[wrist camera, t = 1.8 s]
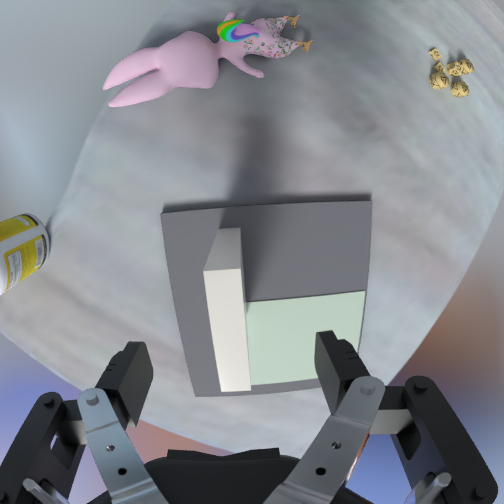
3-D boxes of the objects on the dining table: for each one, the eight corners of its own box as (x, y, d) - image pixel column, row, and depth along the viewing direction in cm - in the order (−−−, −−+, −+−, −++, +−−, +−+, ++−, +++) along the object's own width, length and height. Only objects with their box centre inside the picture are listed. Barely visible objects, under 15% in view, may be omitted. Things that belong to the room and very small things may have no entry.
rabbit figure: (279, 16, 18) (102, 71, 16) (303, -22, 12) (76, 39, 11) (308, 74, 19) (124, 137, 18) (342, 46, 14) (98, 121, 12)
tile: (218, 228, 21) (203, 271, 12) (240, 227, 21) (240, 268, 12) (227, 314, 23) (221, 391, 14) (246, 313, 23) (251, 390, 14)
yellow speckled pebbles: (462, 66, 18) (473, 63, 16) (461, 108, 19) (473, 106, 17) (425, 43, 17) (436, 37, 16) (423, 85, 19) (435, 81, 17)
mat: (162, 212, 21) (160, 214, 20) (369, 200, 21) (372, 201, 21) (195, 393, 26) (195, 397, 25) (351, 378, 26) (353, 382, 26)
